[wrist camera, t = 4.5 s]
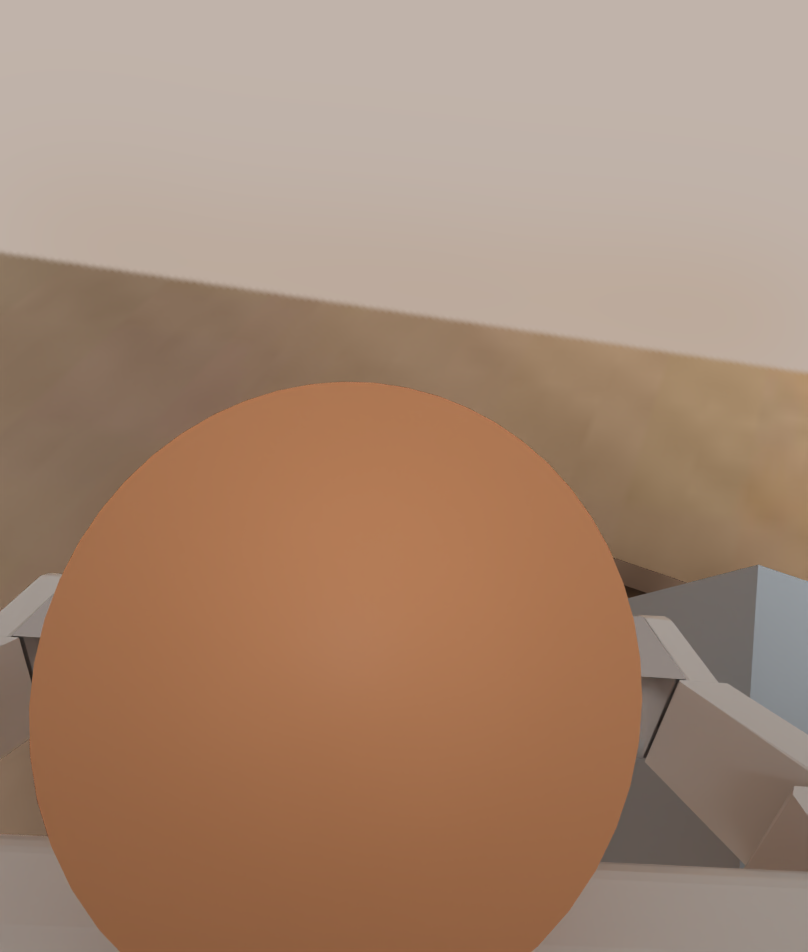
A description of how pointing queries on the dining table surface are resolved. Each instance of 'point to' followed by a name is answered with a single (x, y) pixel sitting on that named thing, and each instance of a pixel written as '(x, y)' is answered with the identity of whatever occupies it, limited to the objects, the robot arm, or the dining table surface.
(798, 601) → the socket block
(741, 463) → the dining table surface
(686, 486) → the dining table surface
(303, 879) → the dowel
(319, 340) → the dining table surface
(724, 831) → the robot arm
